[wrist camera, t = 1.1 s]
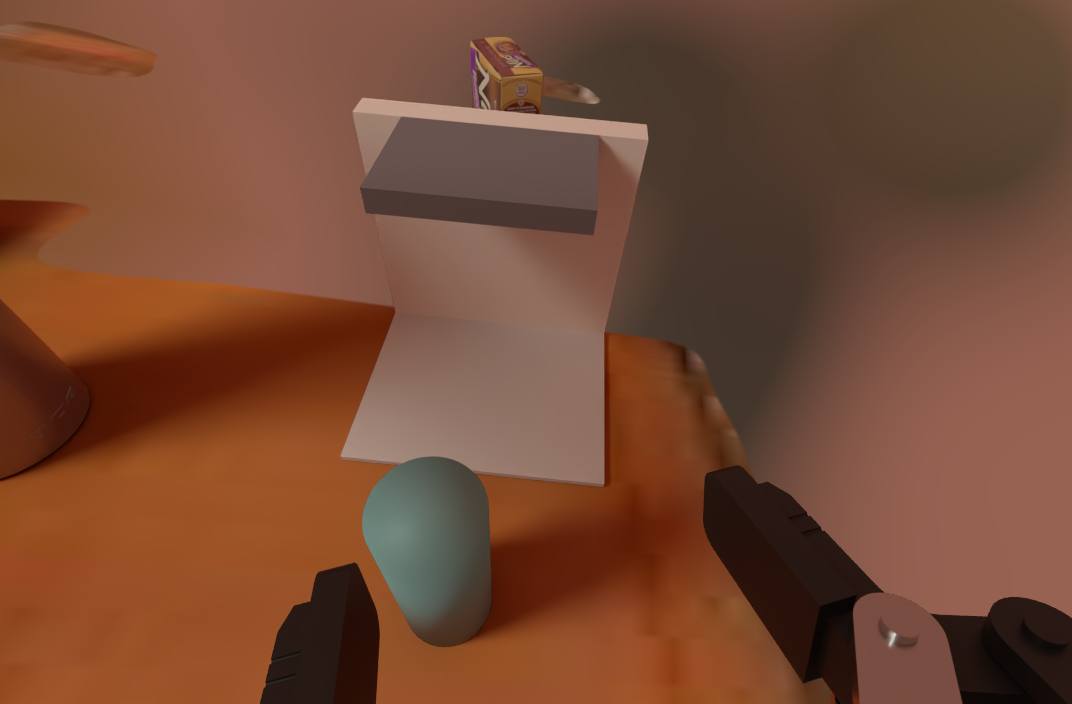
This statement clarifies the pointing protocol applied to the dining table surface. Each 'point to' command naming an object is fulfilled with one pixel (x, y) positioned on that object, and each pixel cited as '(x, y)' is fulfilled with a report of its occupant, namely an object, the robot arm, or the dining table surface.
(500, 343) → the stand
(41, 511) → the dining table surface
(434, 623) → the post
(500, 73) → the candy box
